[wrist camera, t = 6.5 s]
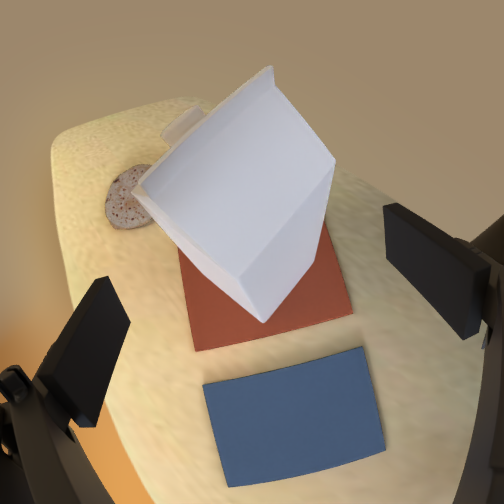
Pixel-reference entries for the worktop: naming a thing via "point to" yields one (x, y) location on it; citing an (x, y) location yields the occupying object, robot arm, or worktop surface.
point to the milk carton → (243, 193)
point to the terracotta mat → (284, 317)
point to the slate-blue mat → (295, 419)
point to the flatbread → (126, 200)
